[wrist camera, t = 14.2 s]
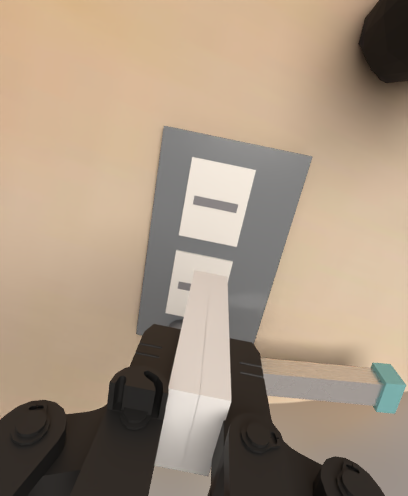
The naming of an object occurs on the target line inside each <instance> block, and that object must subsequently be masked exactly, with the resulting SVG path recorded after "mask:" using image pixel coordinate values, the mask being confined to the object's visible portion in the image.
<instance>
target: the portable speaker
mask: <svg viewBox="0 0 408 496" xmlns="http://www.w3.org/2000/svg"><path fill="white" fill-rule="evenodd" d="M359 45H360V47H361V49H362V51H363V54H364V56H365V58H366V60H367V62H368V64H369V66H370V68H371V70H372V71H373V72H374V73H375V74H376V75H377V76H378V78H379V79H380V80H382V81H384V82H385V83H389V82H399V81H408V0H379V1H378V3H377V4H376V5H375V7H374V8H373V9H372V11H371V12H370V13H369V14H368V15H367V17H366V18H365V21H364V25H363V29H362V33H361V37H360V41H359Z"/></svg>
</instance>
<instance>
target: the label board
mask: <svg viewBox="0 0 408 496" xmlns="http://www.w3.org/2000/svg"><path fill="white" fill-rule="evenodd" d="M311 160H312V156H307V155H302V154H298V153H293V152H288V151H283V150H278V149H274V148H269V147H264V146H259V145H254V144H250V143H245V142H240V141H235V140H230V139H226V138H221V137H216V136H211V135H206V134H201V133H197V132H192V131H187V130H182V129H177V128H173V127H168V126H164V129H163V137H162V144H161V152H160V159H159V167H158V174H157V182H156V189H155V197H154V204H153V212H152V219H151V227H150V234H149V242H148V249H147V257H146V264H145V272H144V279H143V287H142V294H141V302H140V309H139V317H138V324H137V332H136V334H138V335H143V333H144V331H146V330H147V329H148V328H149V327H150V326H152V325H153V324H158V325H162V326H167V327H172V328H177V329H181V328H182V323H183V319H184V314H185V310H186V305H187V301H188V296H189V292H190V287H191V283H192V278H193V274H194V270H197V271H202V272H207V273H211V274H216V275H221V276H226V277H227V281H228V312H229V338H232V339H237V340H242V341H247V342H252V343H253V344H254V342H255V338H256V335H257V332H258V329H259V326H260V322H261V319H262V316H263V313H264V310H265V306H266V303H267V300H268V297H269V294H270V291H271V287H272V284H273V281H274V278H275V275H276V271H277V268H278V265H279V262H280V259H281V255H282V252H283V249H284V246H285V243H286V240H287V236H288V233H289V230H290V227H291V224H292V220H293V217H294V214H295V211H296V208H297V204H298V201H299V198H300V195H301V192H302V189H303V185H304V182H305V179H306V176H307V173H308V169H309V166H310V163H311Z"/></svg>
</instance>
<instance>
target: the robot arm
mask: <svg viewBox="0 0 408 496" xmlns="http://www.w3.org/2000/svg"><path fill="white" fill-rule="evenodd" d="M263 377H264V375H263V369H262V363H261V357H260V353H259V352H258V350H257V349H256V347H255V346H254V344H253V343H252V342H247V341H242V340H237V339H232V338H229V312H228V281H227V277H226V276H221V275H216V274H211V273H207V272H202V271H197V270H194V274H193V278H192V283H191V287H190V292H189V296H188V301H187V305H186V310H185V314H184V319H183V323H182V328H181V329H177V328H172V327H167V326H162V325H158V324H153V325H152V326H150V327H149V328H148V329H147V330H146V331H144V333H143V336H142V338H141V341H140V344H139V345H138V348H137V350H136V354H135V355H134V358H133V360H132V362H131V365H130V367H128V368H124V369H123V370H121V371H120V372H118V373H116V374H115V376H114V377H113V378H112V380H111V381H110V384H109V393H108V403H107V405H106V406H104V407H102V408H99V409H97V410H94V411H89V412H84V413H74V414H65V412H64V409H63V408H62V407H61V406H59V405H58V404H57V403H55V402H51V401H47V400H39V401H31V402H28V403H26V404H23V405H20V406H18V407H17V408H15V409H14V410H12V411H11V412H9V413H8V414H6V415H5V416H4V417H3V418H2V419H1V420H0V496H148V494H149V489H150V484H151V479H152V474H153V470H154V466H158V467H164V468H168V469H174V470H179V471H184V472H189V473H194V474H199V475H204V476H208V475H209V472H210V469H211V486H210V490H209V493H208V496H385V495H384V493H383V492H382V490H381V489H380V487H379V486H378V485H377V483H376V482H375V481H374V480H373V478H372V477H371V476H370V475H369V474H368V473H367V472H366V471H365V470H364V469H362V468H361V467H360V466H359V465H358V464H356V463H354V462H352V461H350V460H348V459H346V458H341V457H332V458H329V459H326V461H325V462H324V464H323V465H321V464H319V463H317V462H315V461H313V460H311V459H309V458H307V457H305V456H304V455H302V454H300V453H298V452H297V451H295V450H293V449H292V448H291V447H289V446H288V445H287V444H286V443H285V442H284V441H283V439H282V436H281V433H280V432H279V431H278V430H277V428H276V427H275V426H274V424H273V423H272V420H271V415H270V409H269V404H268V398H267V392H266V386H265V380H264V378H263ZM211 466H212V468H211Z"/></svg>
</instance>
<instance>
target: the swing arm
mask: <svg viewBox="0 0 408 496" xmlns="http://www.w3.org/2000/svg"><path fill="white" fill-rule="evenodd" d="M261 363H262V369H263V375H264V377H263V378H264V380H265V386H266V392H267V395H268V396H278V397H289V398H299V399H309V400H320V401H330V402H340V403H352V404H361V405H372V406H373V407H374V409H375V410H376V412H384V413H395V412H396V410H397V407H398V405H399V402H400V400H401V397H402V395H403V392H404V390H405V387H406V384H405V383H404V382H403V380H402V379H401V378H400V376H399V375H398V374H397V372H396V371H395V370H394V368H393V367H392V366H391V364H382V363H372V366H371V368H367V367H356V366H345V365H334V364H323V363H313V362H302V361H291V360H280V359H269V358H261Z"/></svg>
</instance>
